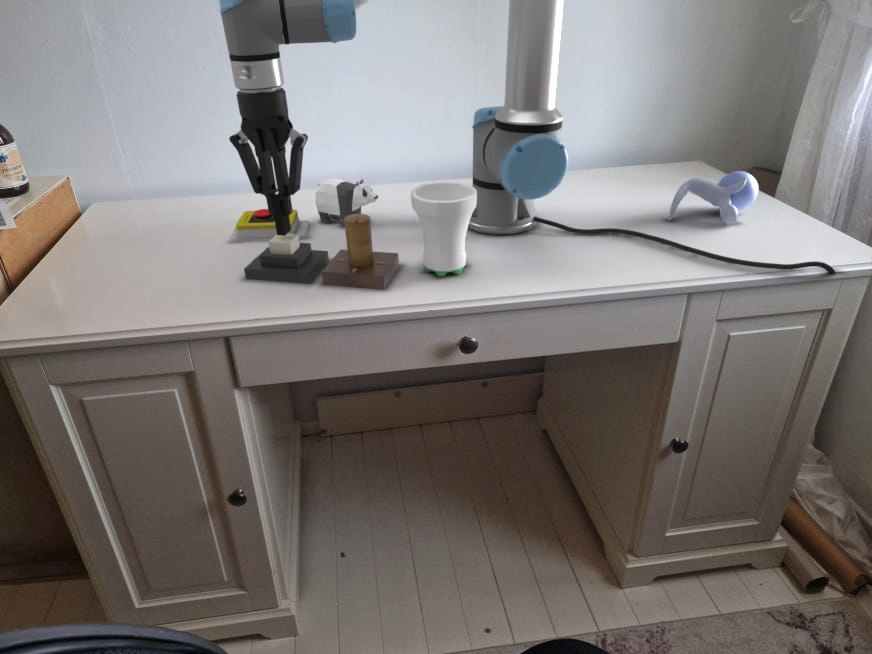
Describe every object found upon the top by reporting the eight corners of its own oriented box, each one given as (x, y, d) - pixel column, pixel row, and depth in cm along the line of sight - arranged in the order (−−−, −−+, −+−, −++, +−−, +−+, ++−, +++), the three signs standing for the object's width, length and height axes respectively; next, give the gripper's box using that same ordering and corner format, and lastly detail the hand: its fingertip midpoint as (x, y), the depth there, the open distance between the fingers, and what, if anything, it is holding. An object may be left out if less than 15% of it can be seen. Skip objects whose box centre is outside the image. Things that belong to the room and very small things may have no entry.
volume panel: (399, 265, 115) (398, 252, 113) (384, 289, 107) (383, 275, 105) (341, 261, 117) (340, 248, 115) (323, 285, 109) (321, 270, 107)
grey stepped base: (329, 260, 117) (326, 240, 115) (309, 284, 109) (306, 262, 107) (269, 256, 119) (265, 236, 117) (245, 279, 111) (241, 258, 109)
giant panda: (314, 221, 135) (309, 177, 130) (329, 213, 139) (324, 170, 134) (371, 232, 129) (368, 186, 124) (386, 223, 133) (383, 178, 128)
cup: (480, 258, 117) (482, 182, 109) (470, 284, 108) (471, 203, 100) (421, 254, 119) (419, 179, 111) (406, 279, 110) (403, 199, 102)
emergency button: (236, 205, 132) (307, 203, 132) (240, 225, 134) (310, 223, 134) (225, 220, 124) (301, 218, 124) (229, 241, 126) (304, 239, 126)
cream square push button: (300, 247, 114) (298, 234, 112) (291, 256, 110) (289, 242, 109) (279, 246, 114) (277, 233, 113) (270, 255, 111) (268, 241, 110)
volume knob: (349, 257, 112) (344, 212, 108) (374, 256, 112) (370, 211, 108) (347, 267, 108) (343, 221, 104) (373, 266, 108) (369, 220, 104)
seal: (761, 232, 133) (678, 240, 128) (733, 192, 140) (653, 198, 135) (785, 202, 126) (699, 209, 121) (754, 161, 133) (671, 166, 128)
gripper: (210, 92, 96) (240, 238, 109) (290, 93, 93) (311, 242, 106) (233, 84, 102) (259, 223, 115) (308, 84, 99) (326, 226, 112)
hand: (284, 232), depth 110 cm, fingers closed
